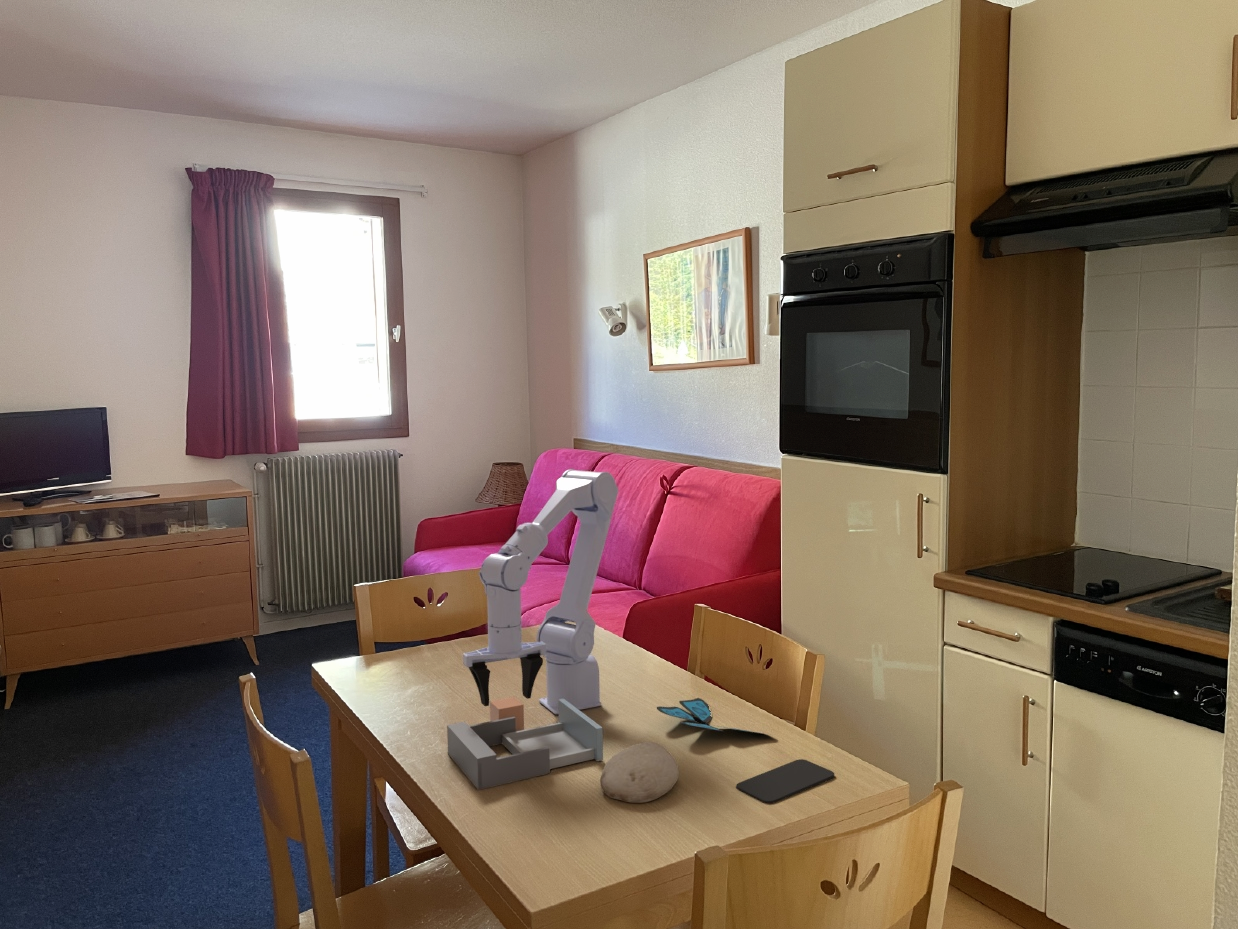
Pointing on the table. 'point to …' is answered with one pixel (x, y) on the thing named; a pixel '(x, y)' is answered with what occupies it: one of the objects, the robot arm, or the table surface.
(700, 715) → the decorative butterfly
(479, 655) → the robot arm
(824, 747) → the table surface
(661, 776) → the stone
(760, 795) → the phone
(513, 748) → the tray
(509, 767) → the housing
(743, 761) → the table surface
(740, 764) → the table surface
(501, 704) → the block
